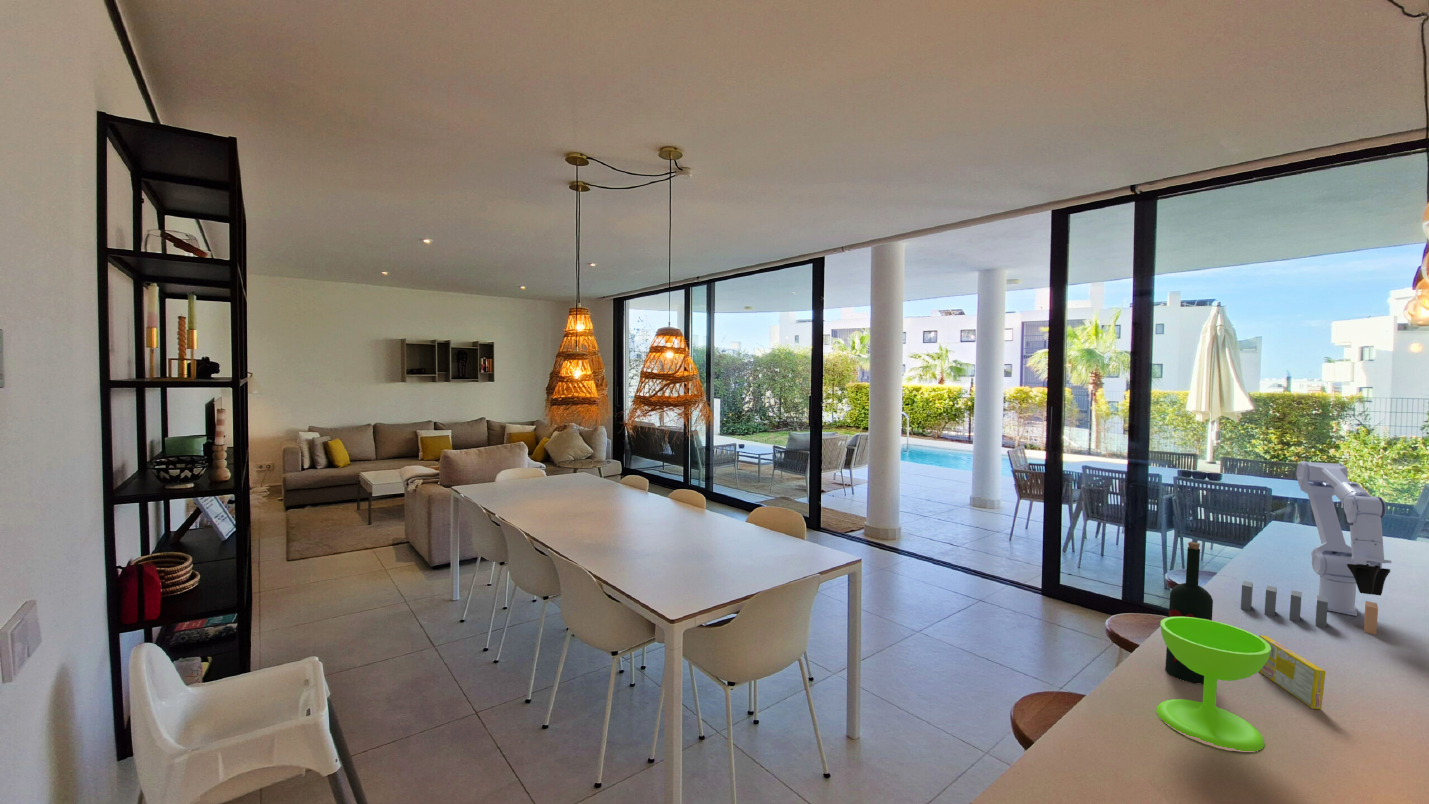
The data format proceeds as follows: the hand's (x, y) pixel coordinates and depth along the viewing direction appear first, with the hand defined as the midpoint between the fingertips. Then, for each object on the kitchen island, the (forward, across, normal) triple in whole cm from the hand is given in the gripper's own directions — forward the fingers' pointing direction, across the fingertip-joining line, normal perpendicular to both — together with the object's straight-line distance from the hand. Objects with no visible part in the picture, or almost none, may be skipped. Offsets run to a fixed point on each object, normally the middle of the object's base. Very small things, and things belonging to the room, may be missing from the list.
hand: (1370, 594), depth 153 cm
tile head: (+9, +4, +1) cm, 10 cm away
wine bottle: (+23, -66, +16) cm, 71 cm away
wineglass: (+28, -83, +6) cm, 88 cm away
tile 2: (+10, -2, +9) cm, 13 cm away
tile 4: (+9, -4, +19) cm, 21 cm away
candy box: (+22, -52, +3) cm, 57 cm away
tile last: (+8, -6, +24) cm, 26 cm away
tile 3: (+9, -3, +14) cm, 17 cm away
